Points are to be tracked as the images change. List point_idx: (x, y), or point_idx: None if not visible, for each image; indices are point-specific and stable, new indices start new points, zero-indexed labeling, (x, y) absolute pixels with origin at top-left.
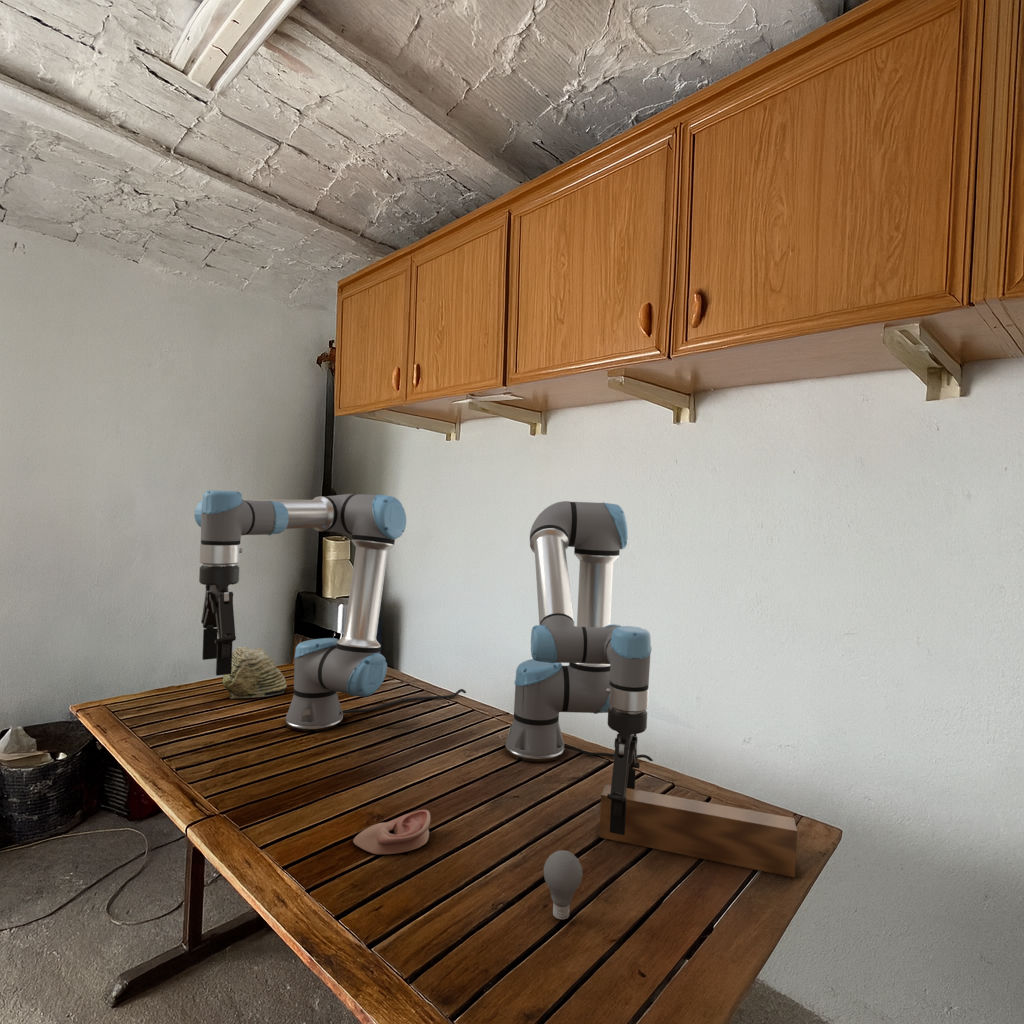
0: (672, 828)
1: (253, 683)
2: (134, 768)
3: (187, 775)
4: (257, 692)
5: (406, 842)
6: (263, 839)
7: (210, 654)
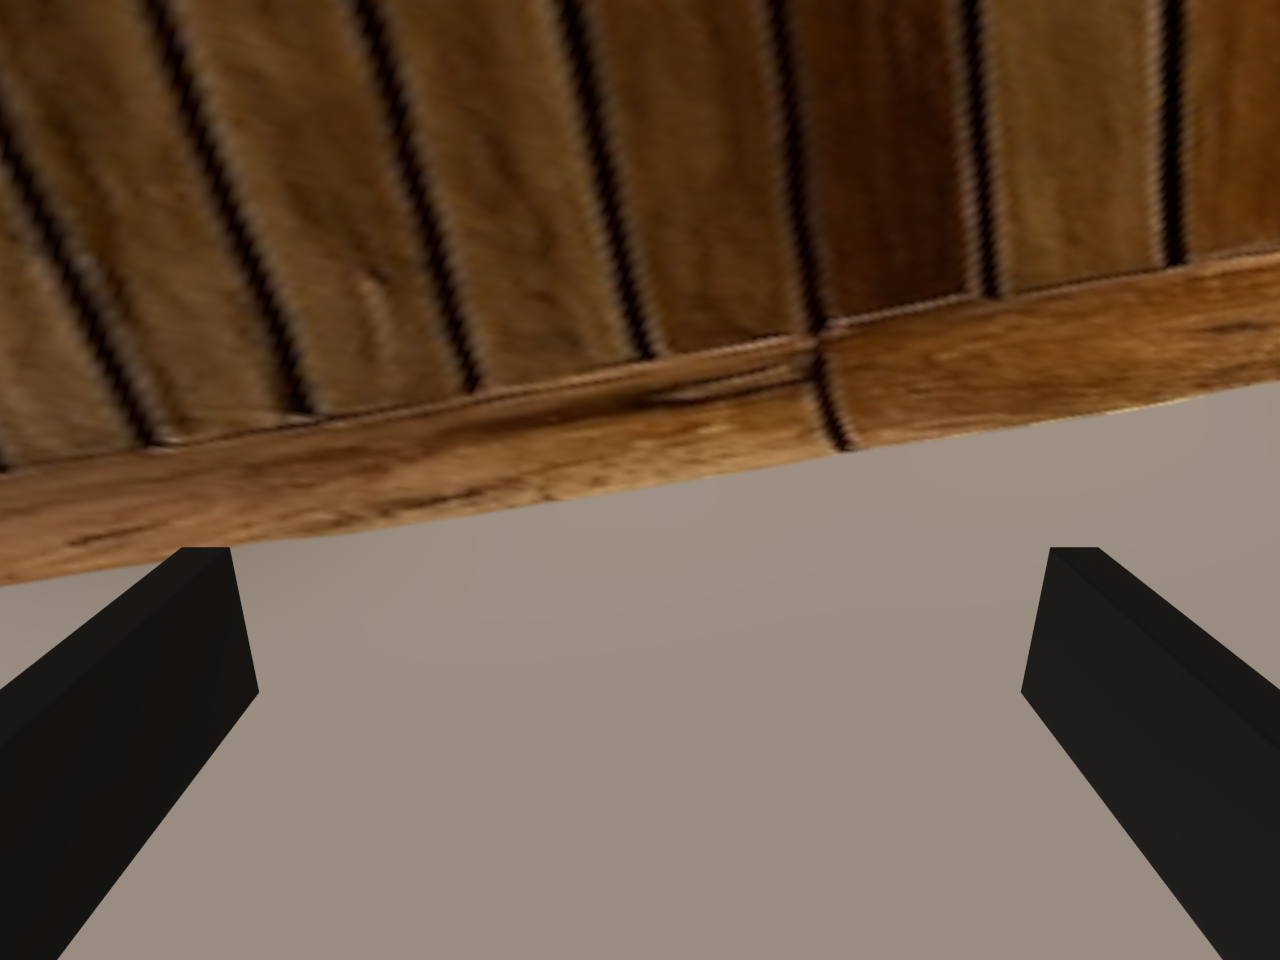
0: None
1: None
2: None
3: (386, 383)
4: None
5: None
6: (1125, 238)
7: (213, 653)
